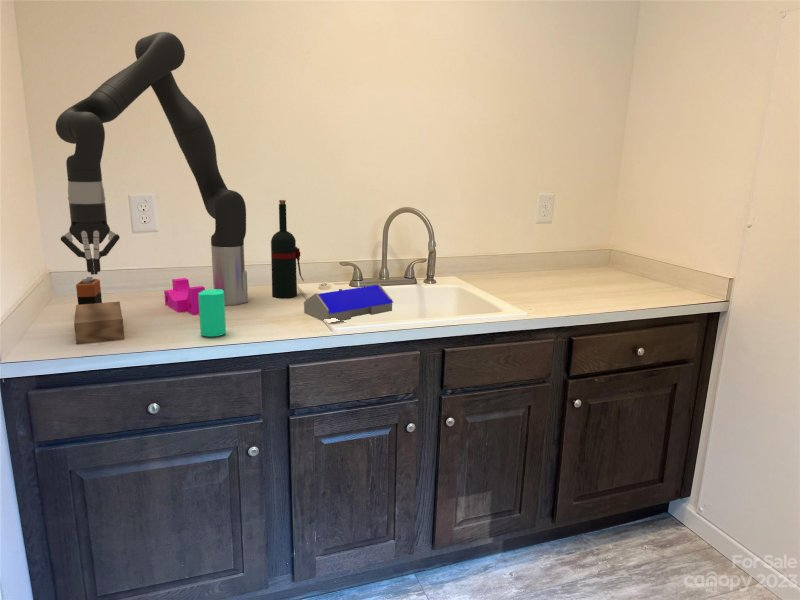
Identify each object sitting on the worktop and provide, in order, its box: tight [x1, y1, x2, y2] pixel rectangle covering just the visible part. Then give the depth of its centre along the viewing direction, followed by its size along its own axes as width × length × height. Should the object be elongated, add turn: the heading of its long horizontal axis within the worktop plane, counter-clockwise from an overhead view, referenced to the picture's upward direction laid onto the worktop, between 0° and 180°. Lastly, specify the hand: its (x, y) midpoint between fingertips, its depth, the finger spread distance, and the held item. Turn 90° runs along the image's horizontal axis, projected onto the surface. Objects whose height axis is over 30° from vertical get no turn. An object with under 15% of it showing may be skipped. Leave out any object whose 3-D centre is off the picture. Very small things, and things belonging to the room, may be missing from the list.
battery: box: [75, 276, 103, 305], centre depth 157 cm, size 4×7×10 cm, turn 13°
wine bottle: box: [270, 199, 305, 300], centre depth 180 cm, size 8×10×30 cm
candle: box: [198, 288, 227, 337], centre depth 143 cm, size 6×6×12 cm
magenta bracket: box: [163, 277, 206, 316], centre depth 165 cm, size 15×6×8 cm, turn 40°
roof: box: [303, 283, 394, 322], centre depth 166 cm, size 22×14×7 cm, turn 130°
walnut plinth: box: [73, 301, 125, 345], centre depth 143 cm, size 10×18×5 cm, turn 27°
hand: (94, 273), depth 140 cm, fingers closed
